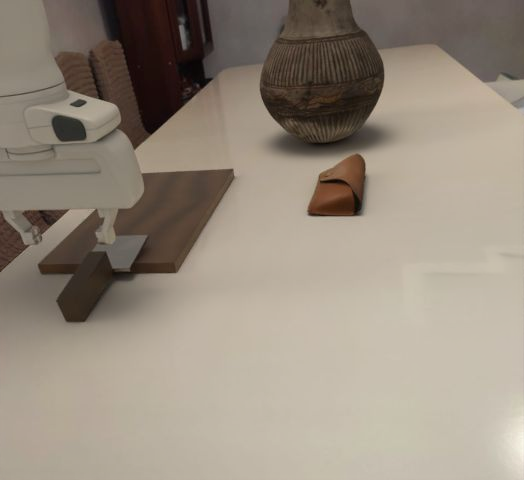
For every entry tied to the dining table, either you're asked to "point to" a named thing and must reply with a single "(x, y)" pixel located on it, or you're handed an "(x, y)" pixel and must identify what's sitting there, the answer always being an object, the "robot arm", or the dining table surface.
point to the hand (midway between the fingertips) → (70, 242)
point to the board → (151, 222)
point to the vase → (321, 72)
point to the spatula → (98, 275)
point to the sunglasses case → (340, 189)
